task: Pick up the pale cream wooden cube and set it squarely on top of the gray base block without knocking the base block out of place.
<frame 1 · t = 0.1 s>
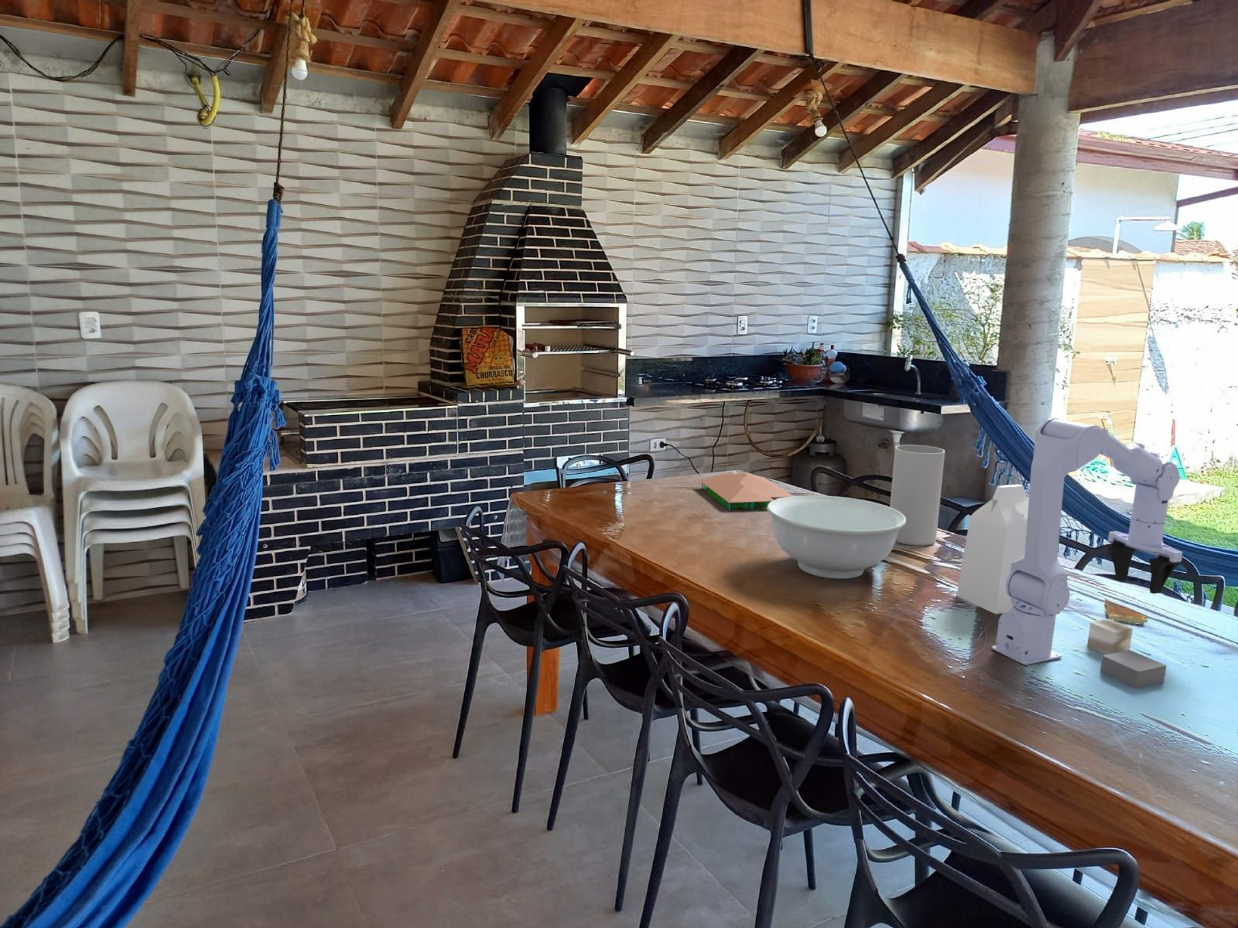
hand: (1137, 586, 172), 10 cm above the table, tool pointing down, fingers open, 7 cm apart
milk: (996, 602, 190), on the table
bowl: (831, 569, 210), on the table
cylinder vase: (911, 540, 235), on the table
shard: (1116, 618, 184), on the table
gray base block: (1131, 678, 154), on the table
house: (745, 499, 279), on the table
cream cube: (1107, 649, 166), on the table
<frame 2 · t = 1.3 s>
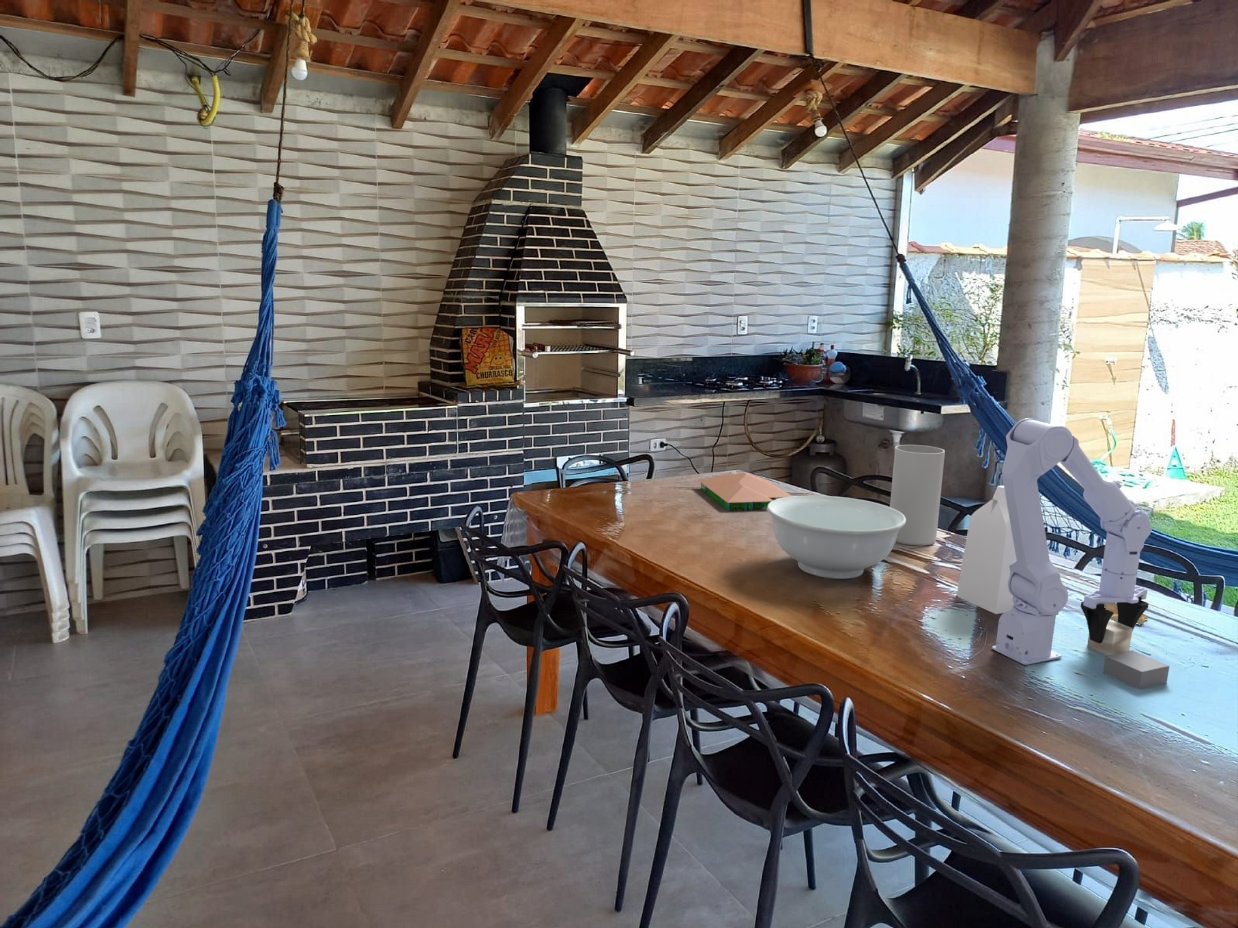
hand: (1109, 638, 165), 2 cm above the table, tool pointing down, fingers open, 7 cm apart
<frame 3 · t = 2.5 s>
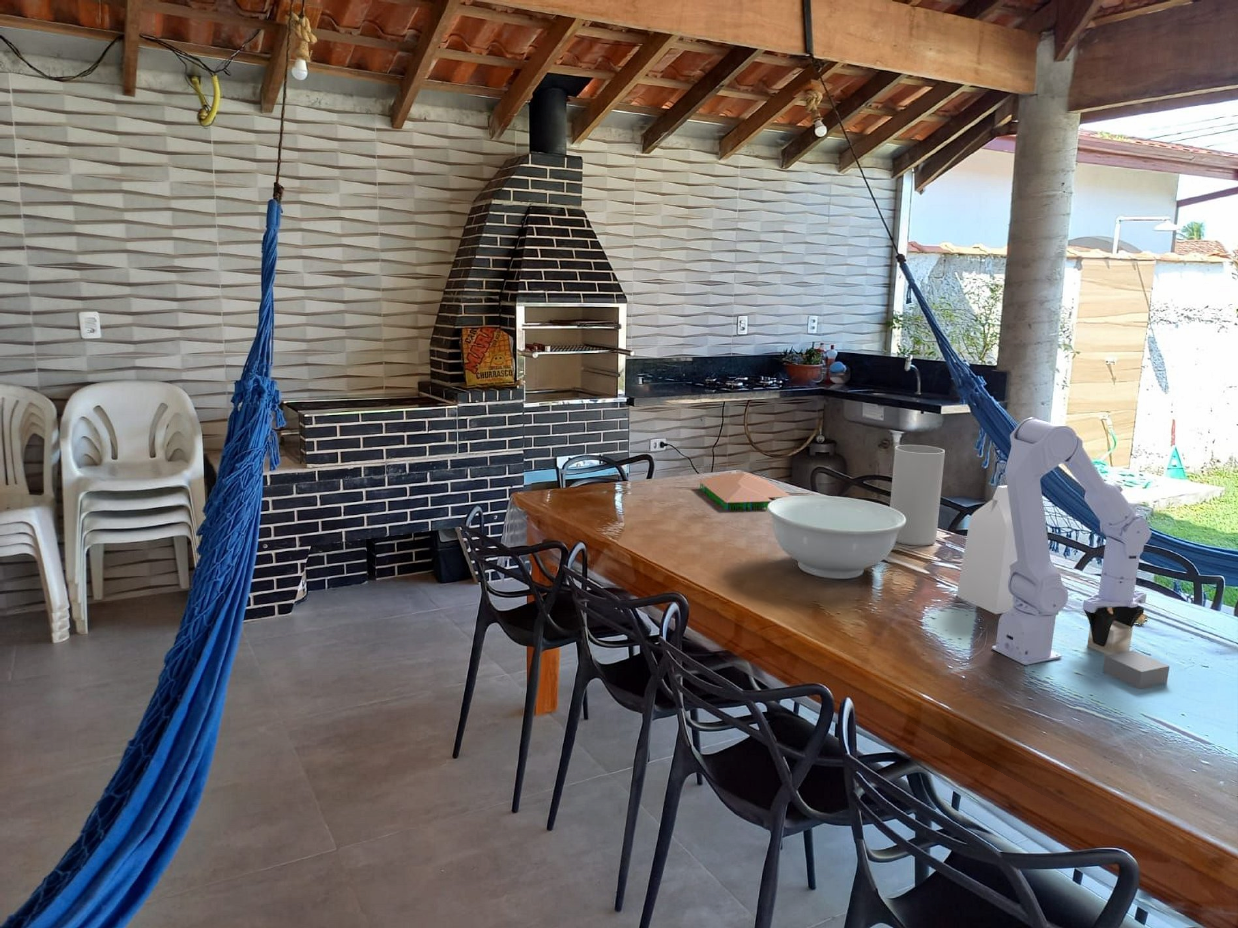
hand: (1108, 642, 165), 1 cm above the table, tool pointing down, fingers closed on cream cube, 5 cm apart
cream cube: (1107, 649, 166), on the table, touching gripper
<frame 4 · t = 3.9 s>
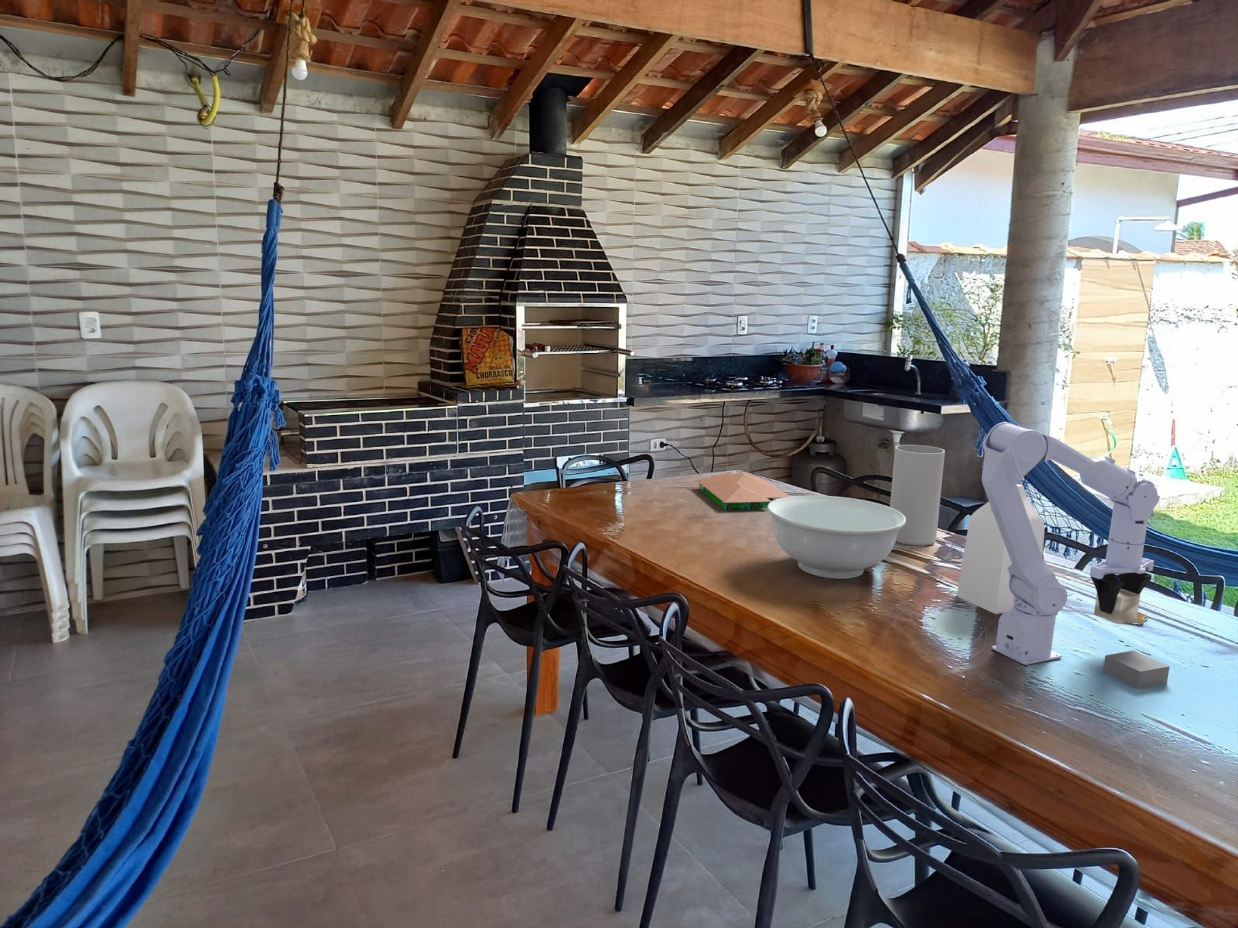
hand: (1116, 610, 163), 8 cm above the table, tool pointing down, fingers closed on cream cube, 5 cm apart
cream cube: (1114, 617, 163), point 7 cm above the table, touching gripper
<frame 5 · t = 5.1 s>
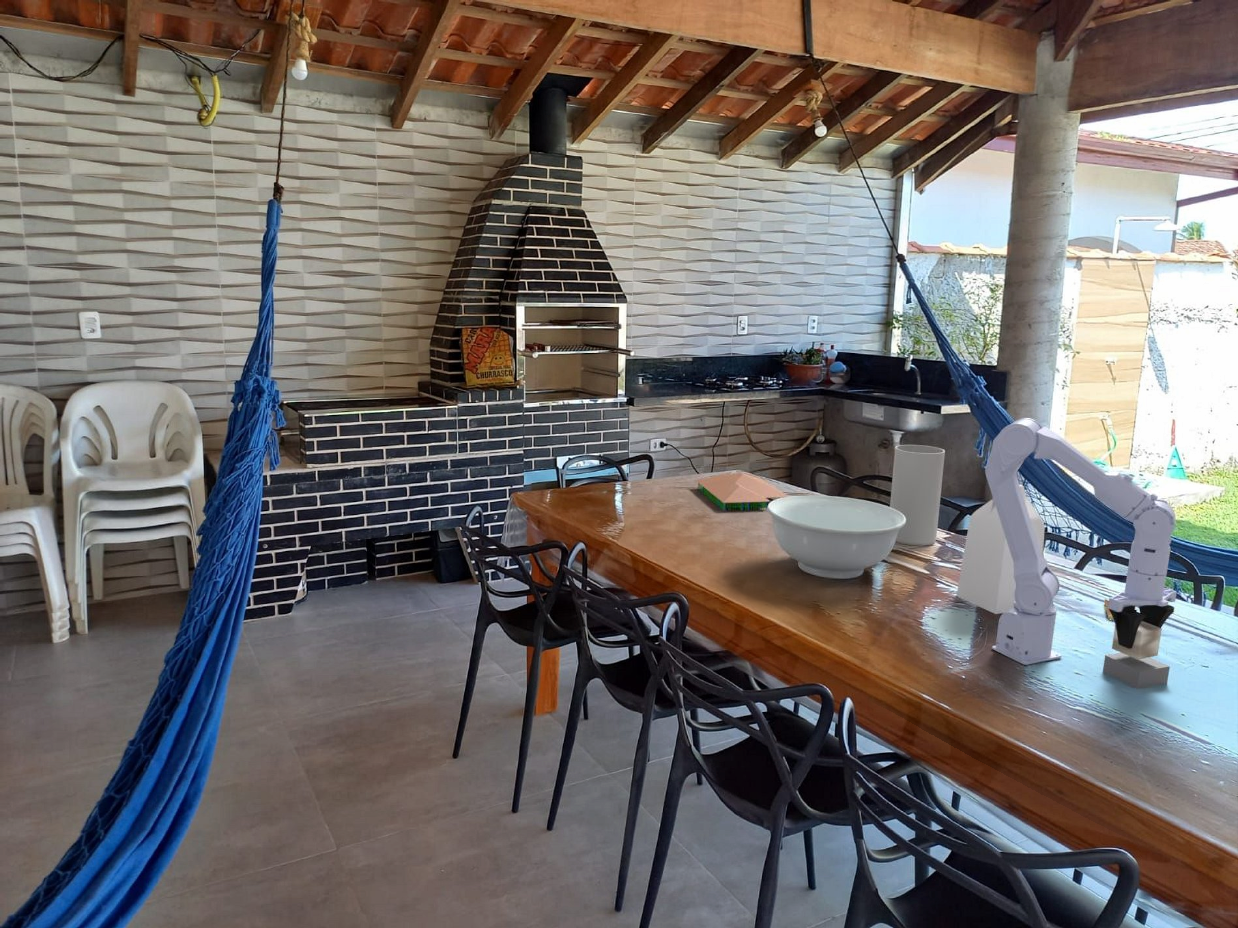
hand: (1135, 644, 153), 6 cm above the table, tool pointing down, fingers closed on cream cube, 5 cm apart
cream cube: (1134, 651, 153), point 5 cm above the table, touching gripper
when the fingers open (6 cm above the table, at t = 5.8 s): cream cube drops 2 cm, point 3 cm above the table.
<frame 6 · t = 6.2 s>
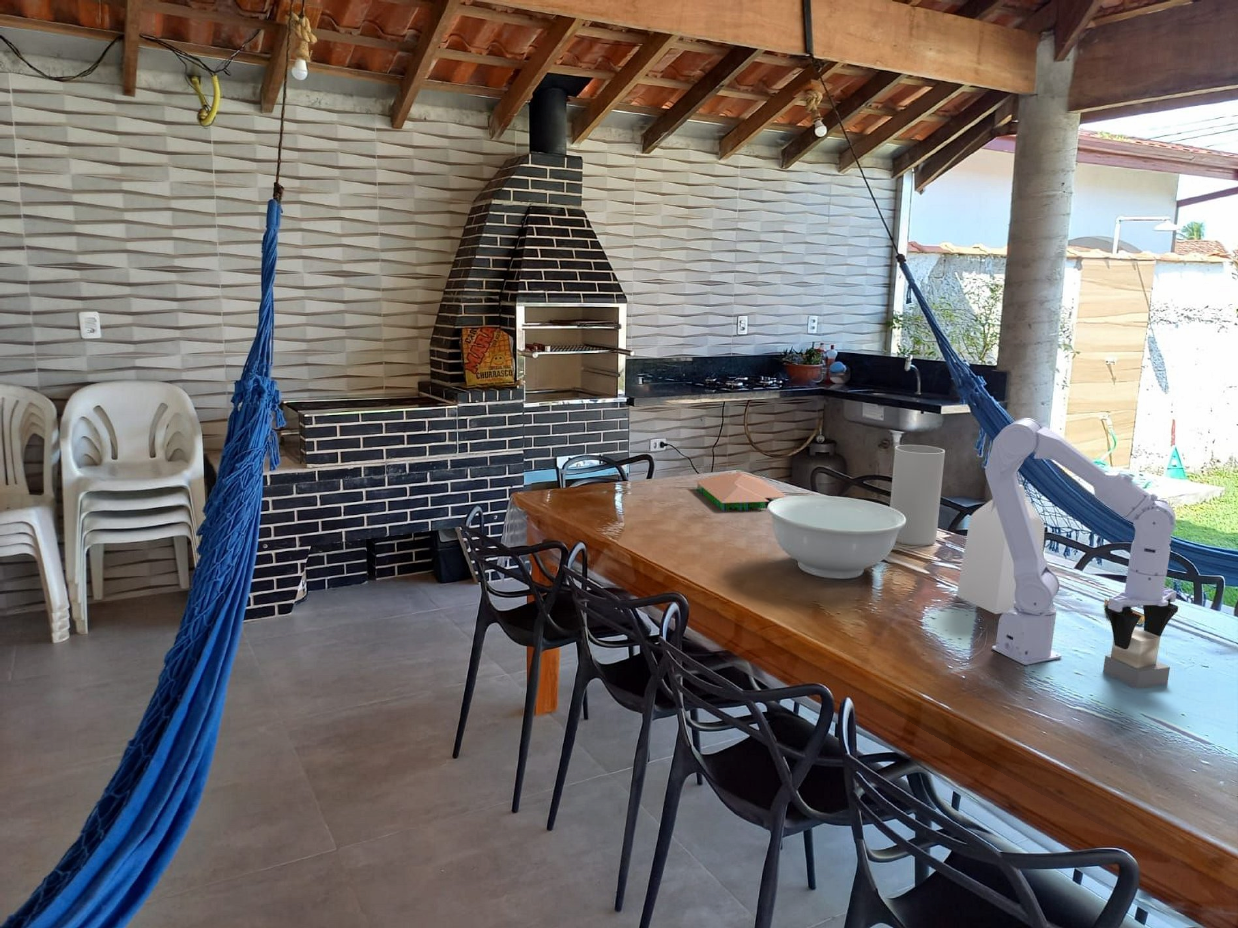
hand: (1135, 643, 153), 6 cm above the table, tool pointing down, fingers open, 7 cm apart
cream cube: (1133, 660, 153), point 3 cm above the table
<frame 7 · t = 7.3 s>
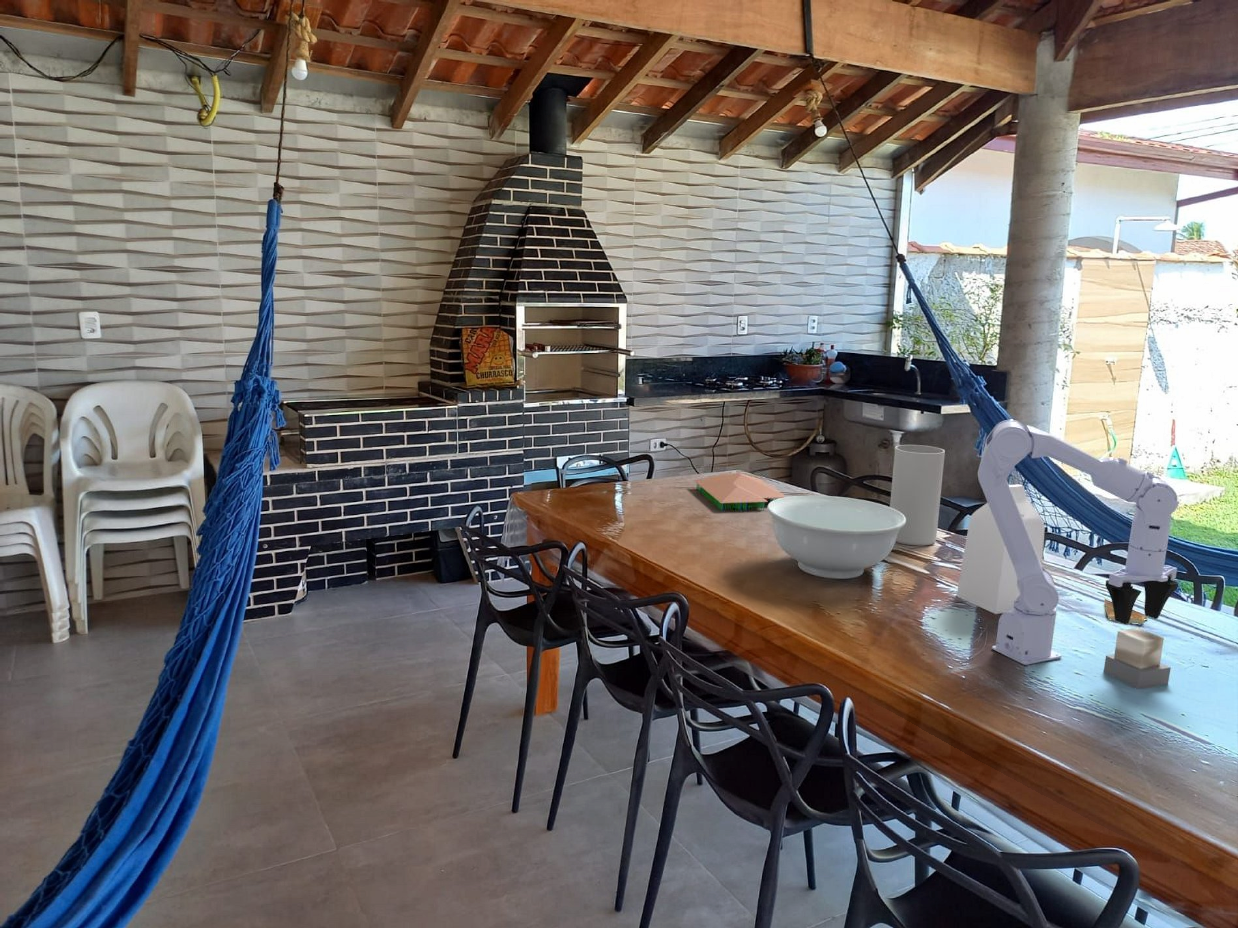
hand: (1136, 619, 156), 9 cm above the table, tool pointing down, fingers open, 7 cm apart
gray base block: (1135, 679, 154), on the table, touching cream cube
cream cube: (1136, 661, 153), point 3 cm above the table, touching gray base block
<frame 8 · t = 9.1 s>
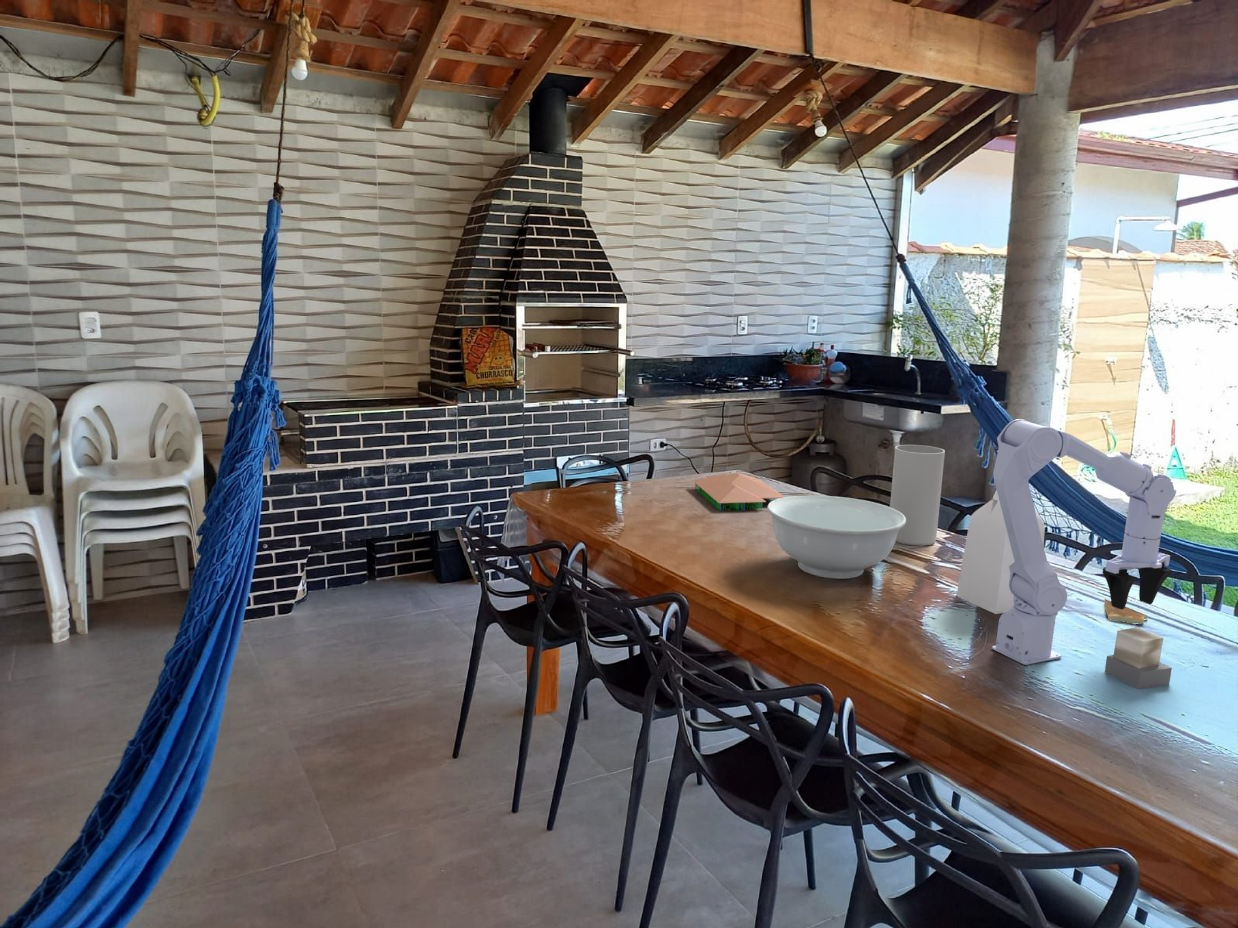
hand: (1131, 604, 163), 9 cm above the table, tool pointing down, fingers open, 7 cm apart
at the end: cream cube 0.4 cm off-centre on the gray base block, point 3.5 cm above the gray base block's base; cream cube tilted 0°; gray base block moved 0.9 cm from its start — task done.
